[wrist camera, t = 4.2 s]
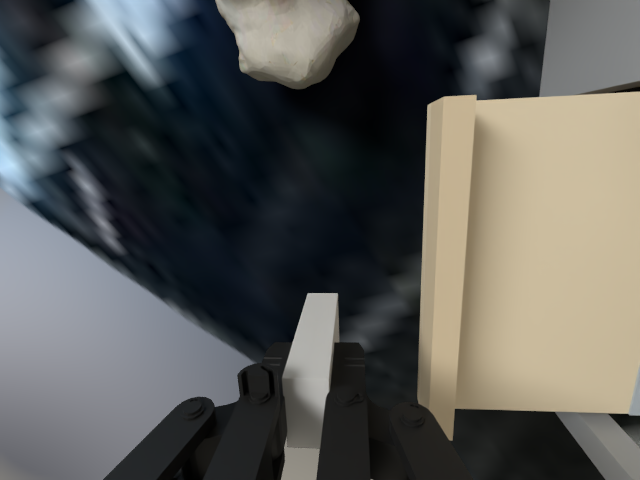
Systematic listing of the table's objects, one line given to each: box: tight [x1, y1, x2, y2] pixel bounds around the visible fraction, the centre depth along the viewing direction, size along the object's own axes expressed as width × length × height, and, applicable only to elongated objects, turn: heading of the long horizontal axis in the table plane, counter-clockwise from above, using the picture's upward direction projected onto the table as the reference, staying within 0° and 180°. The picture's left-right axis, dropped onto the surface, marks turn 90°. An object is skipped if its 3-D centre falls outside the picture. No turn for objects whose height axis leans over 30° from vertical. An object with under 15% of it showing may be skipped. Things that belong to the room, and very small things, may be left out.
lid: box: [417, 92, 640, 440], centre depth 16 cm, size 14×16×3 cm
